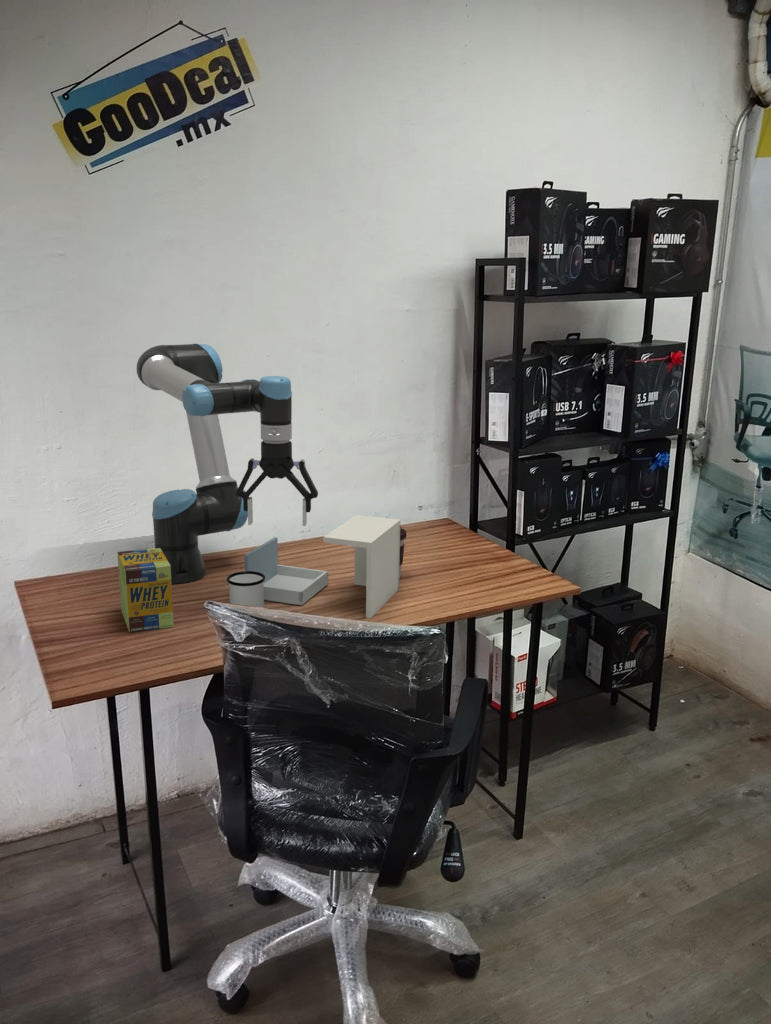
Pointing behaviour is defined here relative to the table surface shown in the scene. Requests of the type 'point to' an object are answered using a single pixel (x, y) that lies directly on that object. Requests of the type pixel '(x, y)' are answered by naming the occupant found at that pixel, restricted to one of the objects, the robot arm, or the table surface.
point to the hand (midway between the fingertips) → (277, 524)
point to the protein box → (145, 589)
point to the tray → (284, 576)
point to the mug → (246, 588)
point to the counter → (372, 556)
